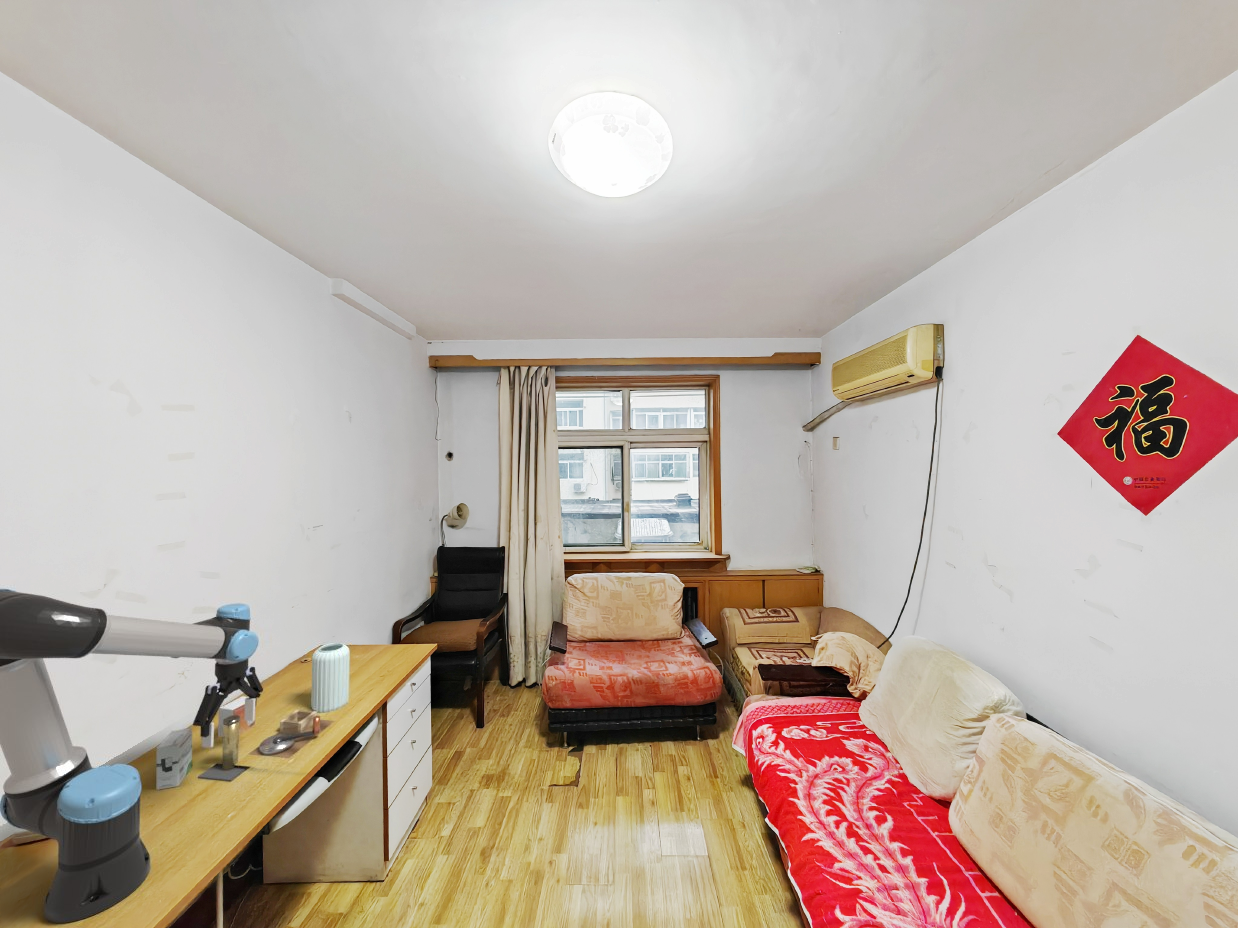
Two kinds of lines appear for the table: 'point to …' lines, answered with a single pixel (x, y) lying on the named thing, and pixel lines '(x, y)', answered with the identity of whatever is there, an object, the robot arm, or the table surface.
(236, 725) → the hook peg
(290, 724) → the square socket
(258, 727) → the table surface
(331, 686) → the vase
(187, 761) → the ink box
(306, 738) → the mount board
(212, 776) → the mat
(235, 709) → the small box
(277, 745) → the handwheel
